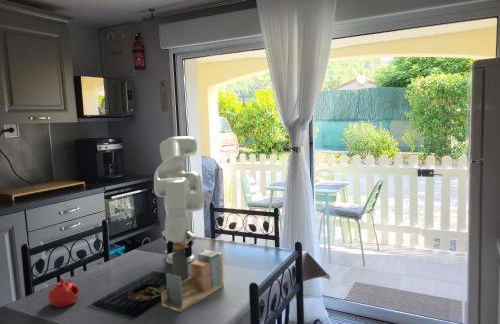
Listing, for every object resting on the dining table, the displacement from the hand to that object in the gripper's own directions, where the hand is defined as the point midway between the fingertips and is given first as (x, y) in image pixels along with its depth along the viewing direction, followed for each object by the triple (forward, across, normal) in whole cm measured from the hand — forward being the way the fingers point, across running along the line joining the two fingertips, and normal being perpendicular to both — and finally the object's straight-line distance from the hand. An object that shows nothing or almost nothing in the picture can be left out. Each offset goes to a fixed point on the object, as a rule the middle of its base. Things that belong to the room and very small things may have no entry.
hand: (179, 254), depth 149 cm
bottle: (+11, -1, +1) cm, 11 cm away
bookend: (+10, +13, -17) cm, 23 cm away
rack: (+11, +13, -6) cm, 18 cm away
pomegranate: (+11, -24, -34) cm, 43 cm away
